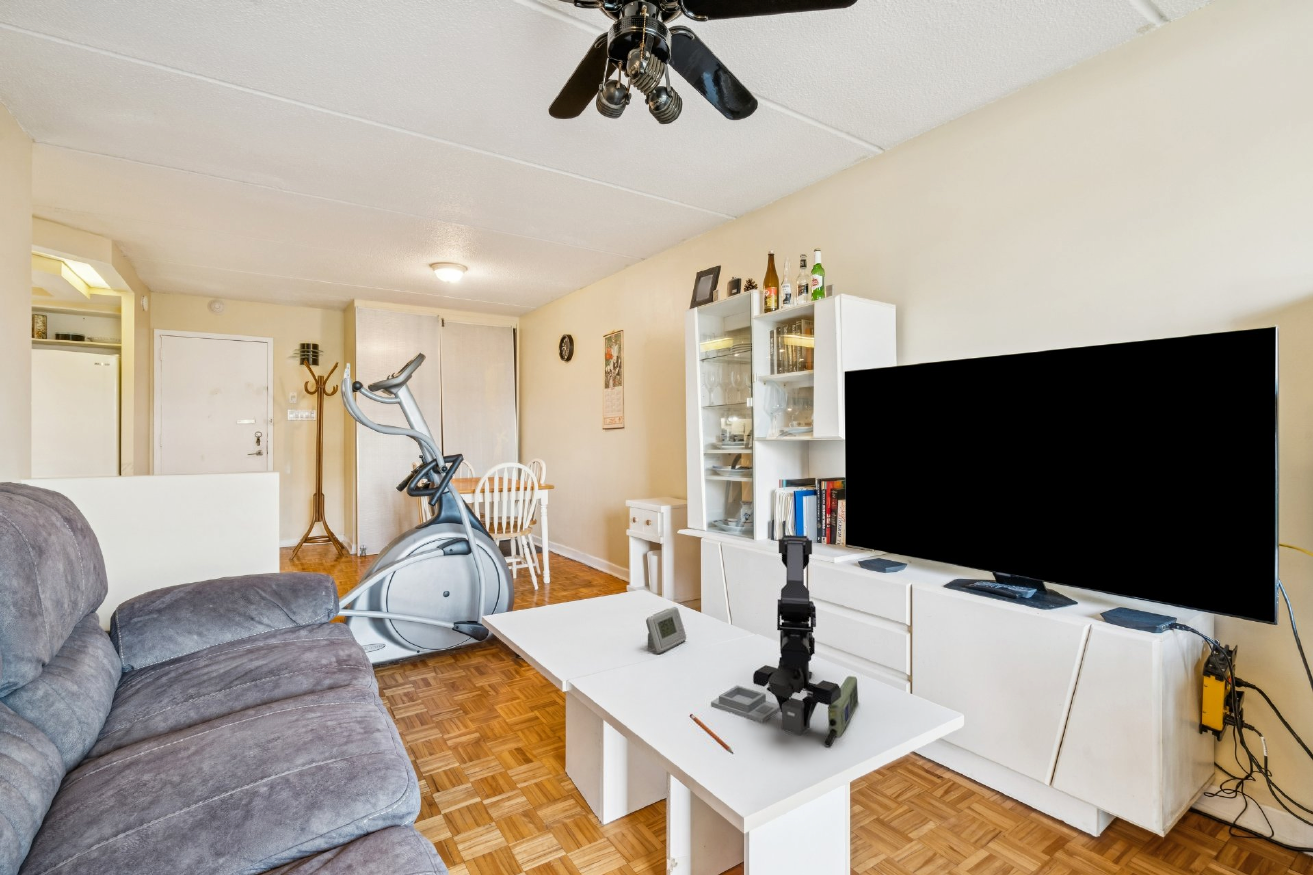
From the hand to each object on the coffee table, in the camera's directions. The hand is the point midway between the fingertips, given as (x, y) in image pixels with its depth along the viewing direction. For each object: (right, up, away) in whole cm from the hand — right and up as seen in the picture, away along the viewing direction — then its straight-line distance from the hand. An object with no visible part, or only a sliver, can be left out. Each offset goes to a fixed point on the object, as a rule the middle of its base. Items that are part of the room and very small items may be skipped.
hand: (795, 722), depth 134 cm
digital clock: (-28, -2, +54) cm, 61 cm away
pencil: (-19, -2, -2) cm, 19 cm away
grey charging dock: (-10, -1, +11) cm, 14 cm away
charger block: (0, -1, 0) cm, 1 cm away
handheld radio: (+11, -2, +2) cm, 11 cm away
